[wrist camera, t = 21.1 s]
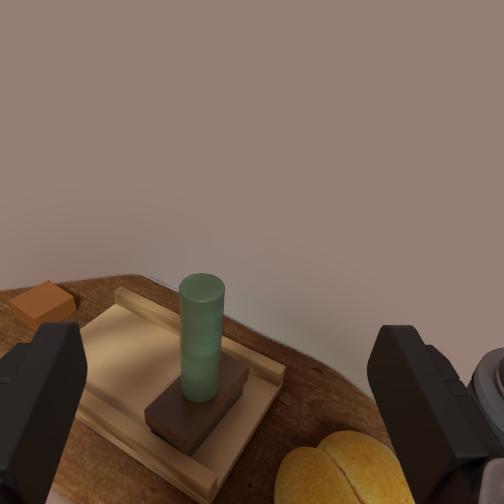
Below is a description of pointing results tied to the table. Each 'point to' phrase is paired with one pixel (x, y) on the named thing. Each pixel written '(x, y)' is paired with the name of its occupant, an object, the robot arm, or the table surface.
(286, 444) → the table surface
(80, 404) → the tray
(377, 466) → the bread roll
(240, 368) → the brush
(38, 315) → the brown block
